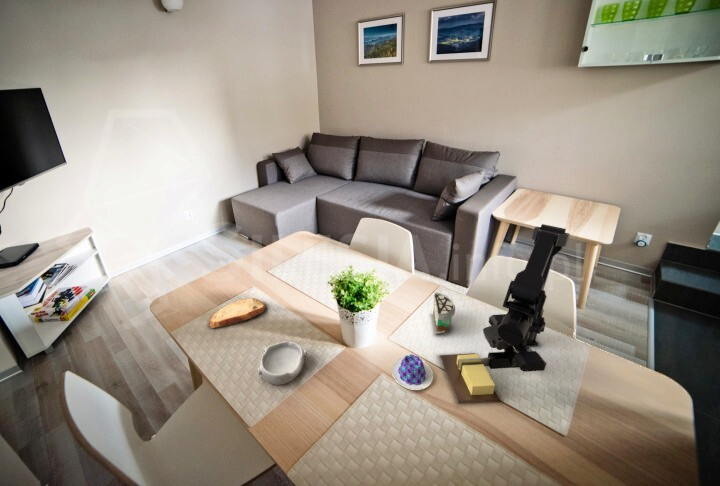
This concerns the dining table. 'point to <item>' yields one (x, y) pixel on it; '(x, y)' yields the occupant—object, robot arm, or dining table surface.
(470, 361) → the knife
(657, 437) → the dining table surface
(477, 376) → the butter block
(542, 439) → the dining table surface
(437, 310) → the cake slice
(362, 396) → the dining table surface
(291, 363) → the dish
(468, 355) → the butter slice
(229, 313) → the bread slice
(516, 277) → the robot arm
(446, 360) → the butter board
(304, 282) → the dining table surface
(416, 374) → the pudding
